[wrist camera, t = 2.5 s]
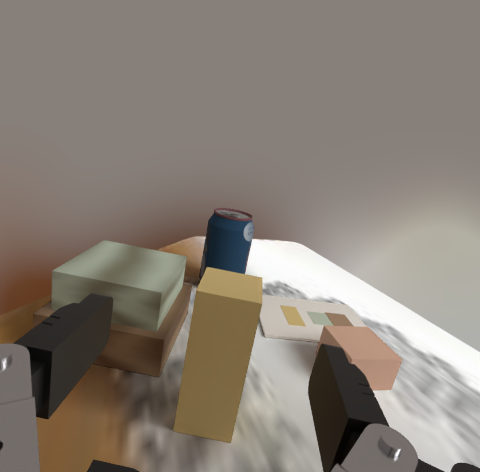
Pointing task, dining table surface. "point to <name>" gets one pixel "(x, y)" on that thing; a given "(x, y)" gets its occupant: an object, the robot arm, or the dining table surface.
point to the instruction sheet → (302, 318)
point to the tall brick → (218, 353)
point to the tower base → (138, 340)
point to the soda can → (227, 241)
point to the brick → (365, 353)
